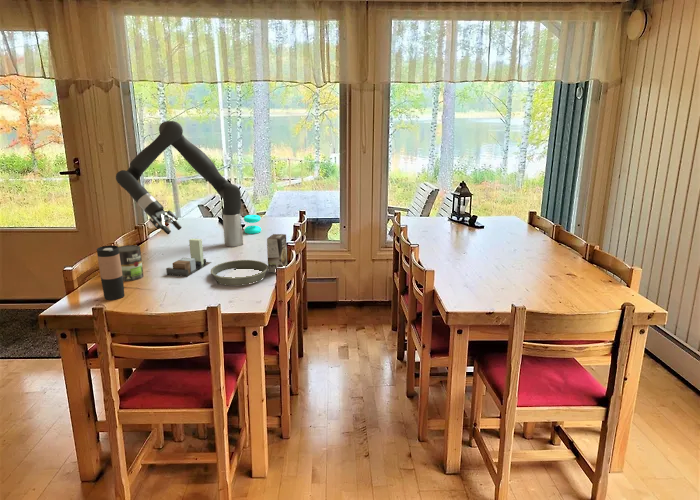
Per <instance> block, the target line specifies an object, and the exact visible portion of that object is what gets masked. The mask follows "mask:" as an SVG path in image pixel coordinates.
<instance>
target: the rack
mask: <svg viewBox="0 0 700 500" xmlns="http://www.w3.org/2000/svg"><path fill="white" fill-rule="evenodd" d="M203 259H204V264H203V265H202V263H201V262H200V261H195V263H196V269H195V270H193V271H192V272H190V273H188V270H187V269H176V268H173V267H166V269H165V270H166V275H167V276H170V277H171V276H173V277H183V278H184V277H185V278H188V277H189V276H192V275H193V274H195V273H197V272H198V271H200V270H202V269H203V268H205V267H207V266H208V265H210V264H212V262H211V261H207V259H206V258H203Z"/></svg>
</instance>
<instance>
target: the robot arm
mask: <svg viewBox="0 0 700 500" xmlns="http://www.w3.org/2000/svg"><path fill="white" fill-rule="evenodd" d="M183 131H184V129H183V127H182V125H181V124H180V123H179V122H178V121H174V120H165V121H163V122H161V123H160V124H159V126H158V132H159V134H158V136H157V137H156V138H155V139H154V140H153V141H152V142H151V143H150V144H149V145H147V146H146V147H145V148H142V150H141V151H140V152H139V153H138V154H137V155H136V156H135V157H133V159H132V160H131V162H130V163H129V166H128V168H127V170H125V169H123V170H118V171H117V173H115V174H116V175H115V180H116V182H117V184H118V185H120V187H121V188H123V189H124V190H125V191H126V192H127V193H128V194H129V195H130V197H131V198H132V199H133V200H134V202H136V203H137V204H138V206H139V207H140V208H141V209H142V211H144V212H145V214H147V215H148V217H150V218H149V221H150V223H151V224H152V225H153V226H154V227H155V228H156V229H157V230H159V229H160V230H162V231H164V233H165V234H167V235H170V234H171V233H172V231H171V230H170V228H169V227H168V226H167V225H165V223H168V224H172V225H173V227H175V228H176V229H177V231H180V230H182V225H181V224H180V223H179V222H178V220H179V218H178V216H177V215H175V214H174V213H173V212H172V211H171V210H170V209H169V210H167V211H165V210H164V208H165V207H164V206H163V205H162V203H161V202H159V201H158V200H157V198H155V196H153V195H152V194H151V193H150V192H149V191H148V190H147V189H146V188H145V187H144V186H143V185H142V184H140V182H139V180H140V178H141V176H142V175H143V173H144V172H146V170H147V169H148V168H149V167H150V166H151V165H152V164H153V163H154V162H155V161H156V159H158V157H159V156H160V155H161V154H162V153H163V152H164V151H166V149H167V148H169V147H170V146H172V147H173V148H174V149H176V151H178V153H179V154H180V155H181V156H182V157H183V158H184V160H185V161H186V162H187V163H188V164H189V165H190V167H192V169H194V171H195V172H196V173H198V175H200V177H202V178H203V179H204V180H205V181H207V182H208V183H209V184H210V185H211V187H213V189H214V190H215V191H216V193H217V194H218V195H219V196H220V198H222V199H223V208H222V210H221V213H222V225H223V239H224V246H226V247H231V248H232V247H239V246H242V245H244V236H243V227H242V219H241V209H242V192H241V189H240V187H239V186H238V185H235V184H233V183H231V182H229V180H227V179H226V178H225V177H224V176H223V175H222V174H221V173H220V172H219V170H218V168H217V167H216V165H215V163H214V162H213V161H212V160H211V159H210V157H209V156H208V155H207V154H206V153H205V152H204V151H203V150H202V149H200V148H199V147H198V146H197V145H194V144H193V143H192V142H190V141H189V140H188V139H187V137H185V136H184V135H183Z"/></svg>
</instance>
